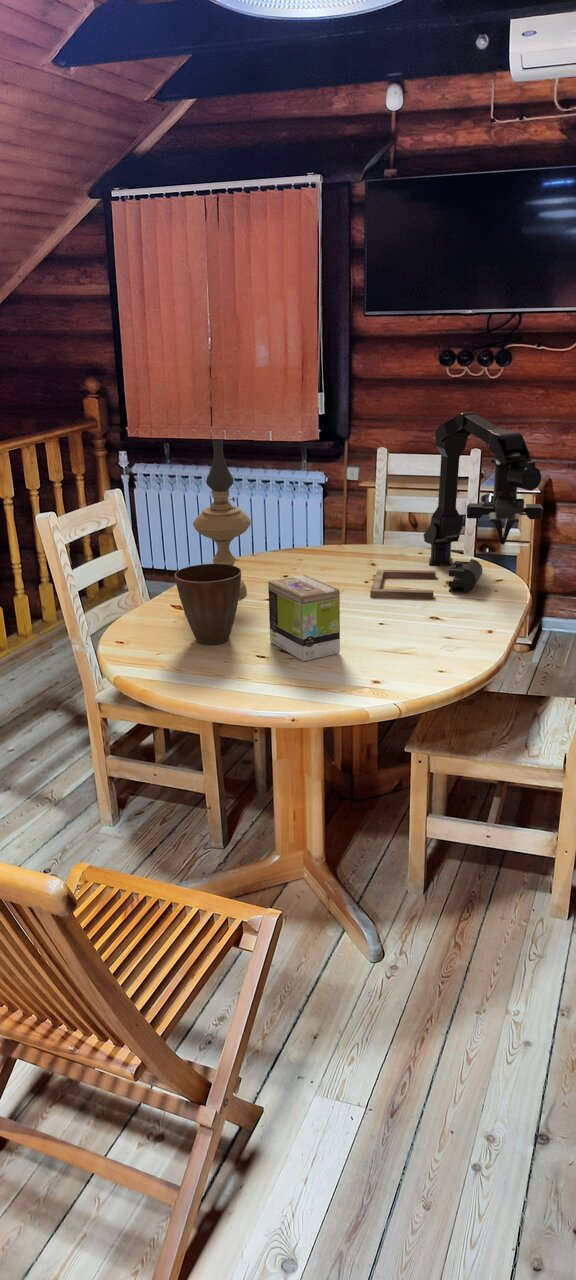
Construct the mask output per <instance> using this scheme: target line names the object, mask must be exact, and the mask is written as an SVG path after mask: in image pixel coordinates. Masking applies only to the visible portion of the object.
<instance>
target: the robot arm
mask: <svg viewBox="0 0 576 1280" xmlns="http://www.w3.org/2000/svg"><path fill="white" fill-rule="evenodd" d="M434 433H435V435H434V436H435V447H436V448H437V450H438V453H439V454H440V468H439V469H440V470H439V471H440V472H439V485H438V503H437V504H438V505H437V508H436V509H435V511H434V512H433V514H432V515H431V520H430V524H429V526H428V528H427V529H426V531H425V532H424V533H423V540H424V542H425V543H426V544H430V557H429V559H428V560H429V561H428V565H429V566H453V557H452V543H455V542H456V543H457V542H459V539H460V536H461V532H462V530H463V520H464V519H463V515H462V514H460V513H459V511H458V509H457V498H458V485H459V484H458V483H459V481H458V480H459V470H460V457H461V455H462V454H463V452H464V451H465V450H466V448H467V445H468V444H467V443H468V439H469V437H471V436H472V435H473V436H474V437H476V438H477V439H479V440H480V441H482V442H483V443H485V444H486V445H488V447H487V448H488V451H490V453H491V454H492V455H493V456H494V458H492V459H491V460H490V461H489V462H490V464H492V465H494V479H493V480H494V481H493V483H494V484H493V498H492V499H493V501H492V503H493V504H492V507H491V506H486V507H485V506H483V505H484V504H483V503H482V502H481V503H474V502H473V503H472V502H470V503H468V504H467V505H466V518H467V519H480V518H482V517H483V516H484V515H487V516H488V517H489V518H488V519H489V522H491V523H493V524H494V526H495V529H496V532H497V534H498V538H499V541H500V545H502V546H504V545H505V543H506V541H507V538H508V536H509V533H510V532H511V529H512V527H513V525H514V524H515V523H519V522H520V519H519V518H520V516H526V517H527V518H528V519H529V520H543V519H544V508H543V506H542V504H541V503H526V504H525V498H518V496H517V495H518V489H522V490H525V491H530V492H531V491H534V490H536V489H537V488H538V487H539V485H540V484H541V482H542V481H541V480H542V474H541V471H540V469H539V468H538V467H536V462H535V461H532V458H531V453H530V451H529V449H528V447H527V444H526V440H525V439H524V436H523V434H522V433H521V432H518V431H516V430H511V429H503V428H500V427H498V426H496V425H494V424H493V423H491V422H490V421H488V420H487V419H485V418H483V417H481V416H480V415H479V414H478V413H477V412H474V411H468V412H465V411H464V412H460V413H458V414H457V415H456V416H455V417H454V418H453V417H452V418H451V419H449V420H447V421H445V422H444V423H442V424H439V426H438V427H436V430H435V432H434ZM502 519H505V522H504V528H503V522H502Z"/></svg>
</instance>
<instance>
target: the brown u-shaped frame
mask: <svg viewBox="0 0 576 1280" xmlns="http://www.w3.org/2000/svg"><path fill="white" fill-rule="evenodd" d="M436 573H437V572H436V570H416V569H414V570H413V569H409V570H408V569H379V568H378V569H377V570H376V572H375V575H374V578H373V582H372V583H371V588H370V593H369V595H370V596H369V597H370V598H391V599H392V598H395V599H399V598H400V599H422V600H425V599H427V600H430V599H431V600H433V599H434V592H435V591H434V590H430V589H428V590H426V589H425V590H424V589H398V588H397V589H393V588H390V589H389V588H382V585H383V581H384V578H399V579H400V578H401V579H402V578H403V579H405V578H406V579H436V575H437V574H436Z"/></svg>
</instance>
